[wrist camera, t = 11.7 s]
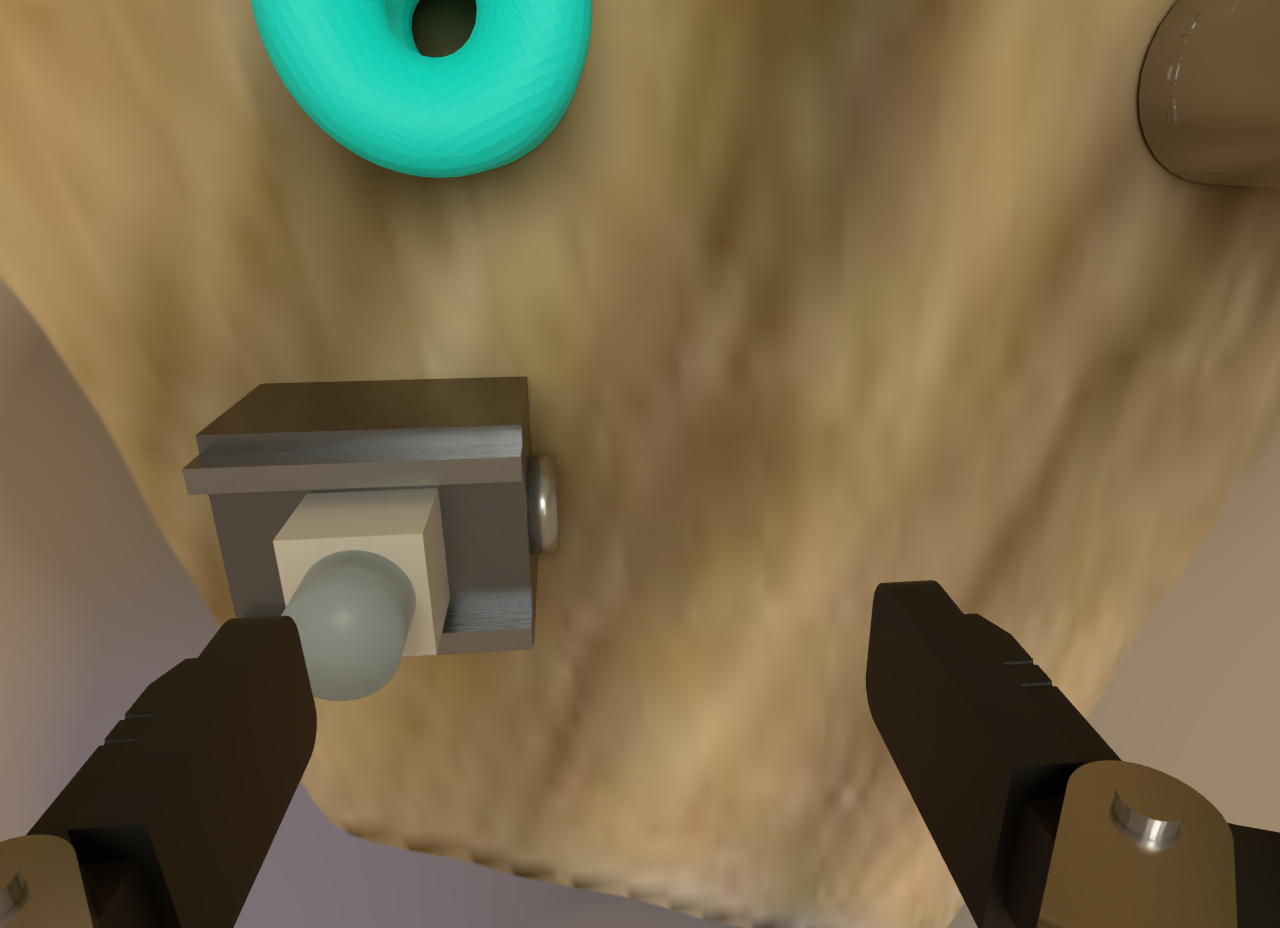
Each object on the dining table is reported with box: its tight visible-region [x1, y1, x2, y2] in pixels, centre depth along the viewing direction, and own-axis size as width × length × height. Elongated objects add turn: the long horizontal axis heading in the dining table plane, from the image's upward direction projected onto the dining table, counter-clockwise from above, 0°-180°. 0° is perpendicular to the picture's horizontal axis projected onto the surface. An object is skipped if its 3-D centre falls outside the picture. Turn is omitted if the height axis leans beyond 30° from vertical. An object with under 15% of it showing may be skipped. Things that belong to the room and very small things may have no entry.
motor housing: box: [182, 377, 559, 657], centre depth 34 cm, size 13×10×8 cm
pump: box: [273, 488, 450, 701], centre depth 28 cm, size 5×5×7 cm
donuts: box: [251, 0, 592, 178], centre depth 27 cm, size 10×10×10 cm
